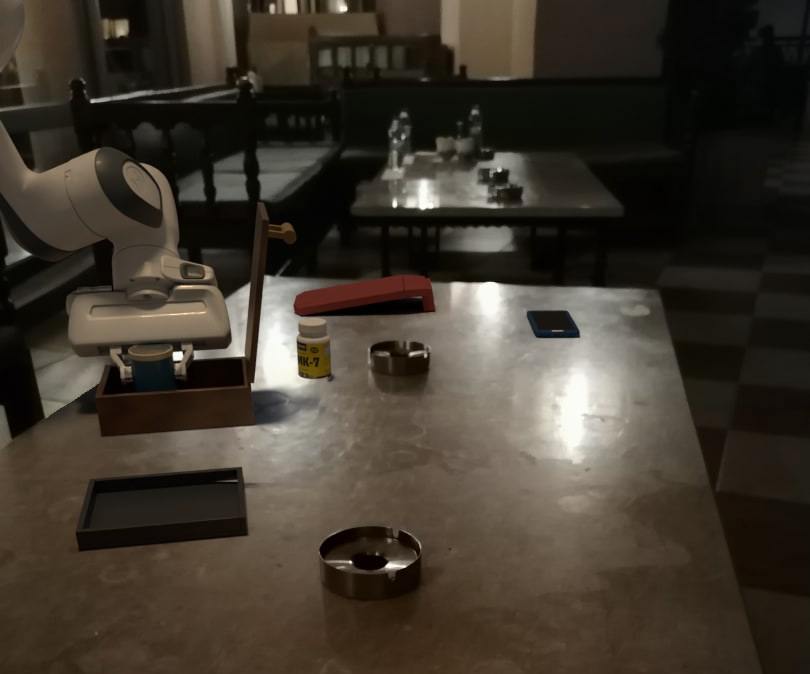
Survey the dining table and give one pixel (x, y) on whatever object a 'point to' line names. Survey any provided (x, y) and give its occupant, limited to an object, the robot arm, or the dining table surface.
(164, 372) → the canister
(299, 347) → the supplement bottle
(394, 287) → the red ramp
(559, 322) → the cell phone
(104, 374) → the chest
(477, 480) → the dining table surface
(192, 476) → the tray
